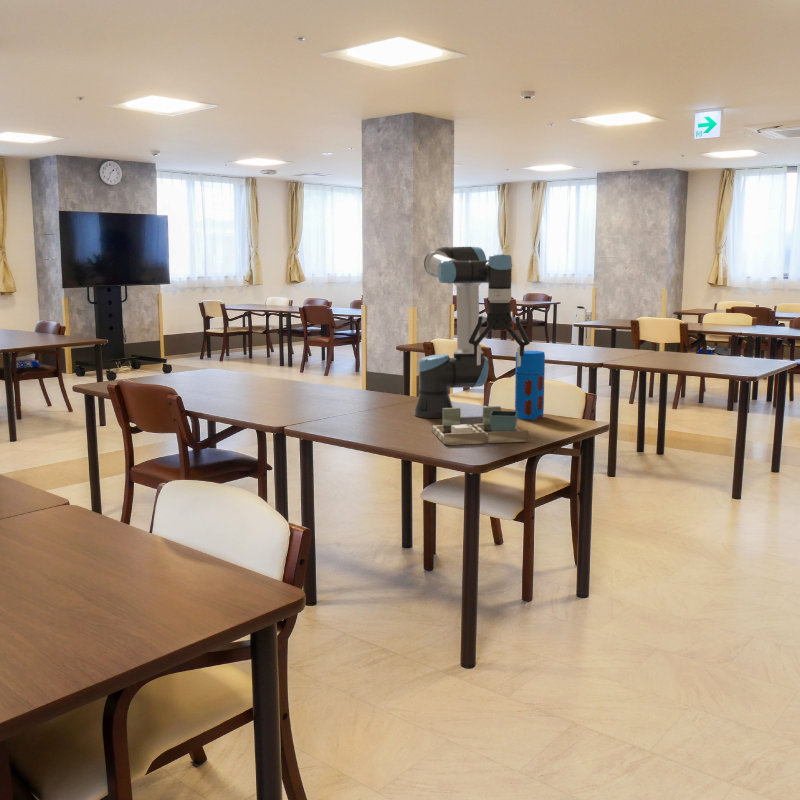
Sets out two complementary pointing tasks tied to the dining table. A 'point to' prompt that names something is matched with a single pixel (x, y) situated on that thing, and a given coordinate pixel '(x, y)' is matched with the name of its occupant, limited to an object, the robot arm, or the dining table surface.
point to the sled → (453, 418)
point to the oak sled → (500, 435)
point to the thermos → (530, 385)
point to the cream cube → (460, 429)
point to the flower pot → (503, 420)
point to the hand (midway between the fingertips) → (498, 365)
